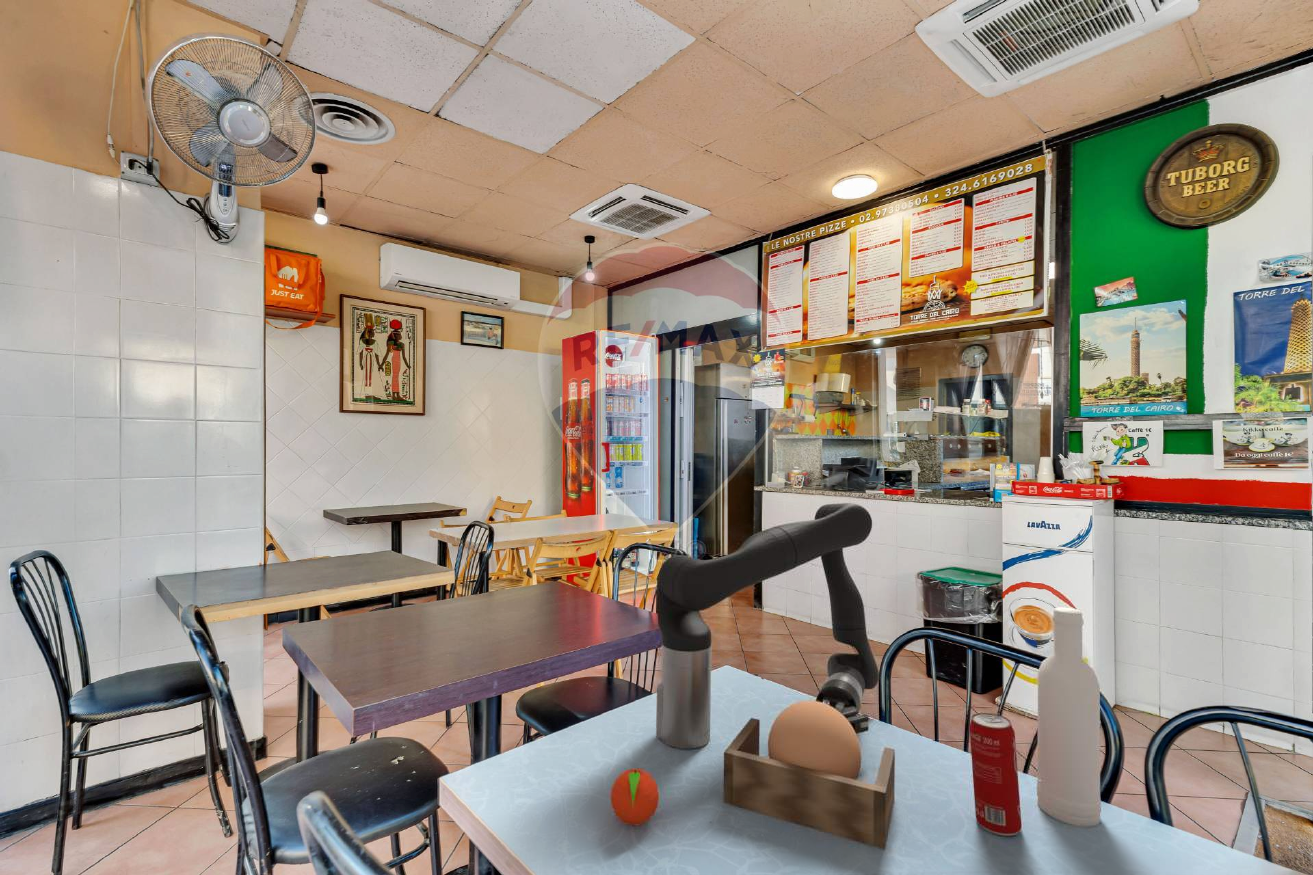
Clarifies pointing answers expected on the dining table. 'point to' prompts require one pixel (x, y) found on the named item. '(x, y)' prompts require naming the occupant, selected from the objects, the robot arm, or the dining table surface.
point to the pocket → (809, 792)
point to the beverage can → (995, 774)
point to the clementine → (634, 797)
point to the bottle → (1068, 728)
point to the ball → (815, 739)
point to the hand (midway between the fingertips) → (823, 736)
